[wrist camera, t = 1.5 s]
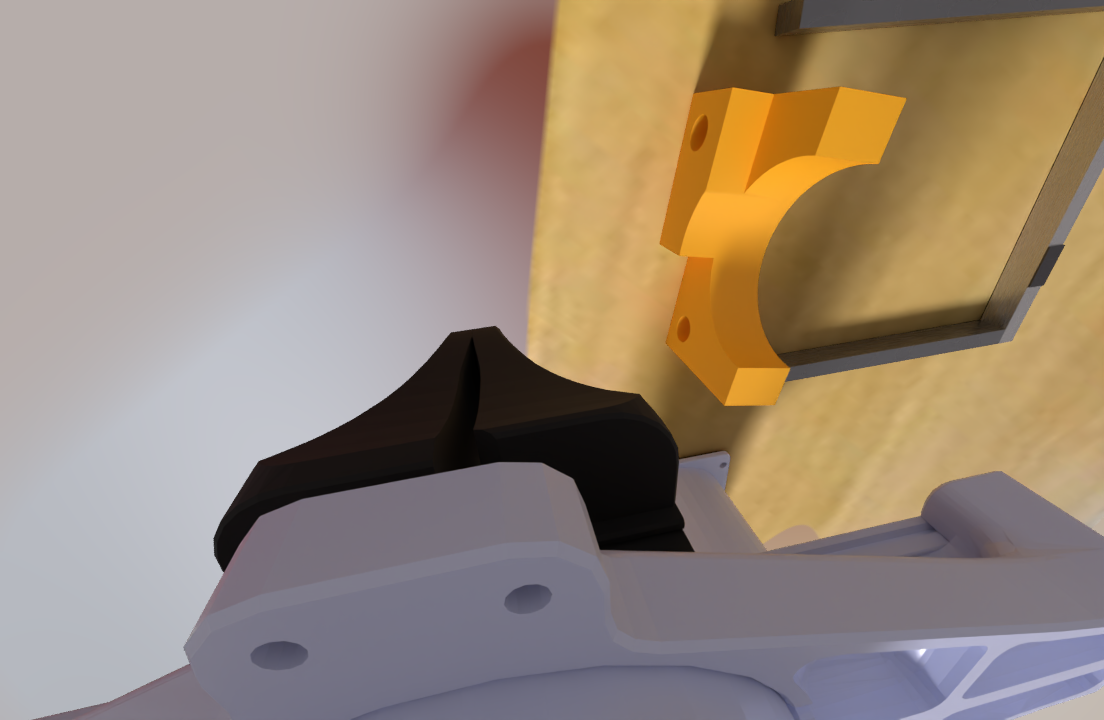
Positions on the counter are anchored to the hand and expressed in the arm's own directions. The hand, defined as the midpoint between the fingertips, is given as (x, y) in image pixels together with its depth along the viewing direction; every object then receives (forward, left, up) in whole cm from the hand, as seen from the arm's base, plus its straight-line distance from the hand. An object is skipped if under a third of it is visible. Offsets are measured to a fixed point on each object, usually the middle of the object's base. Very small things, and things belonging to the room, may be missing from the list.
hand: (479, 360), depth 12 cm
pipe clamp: (0, -12, -10) cm, 15 cm away
